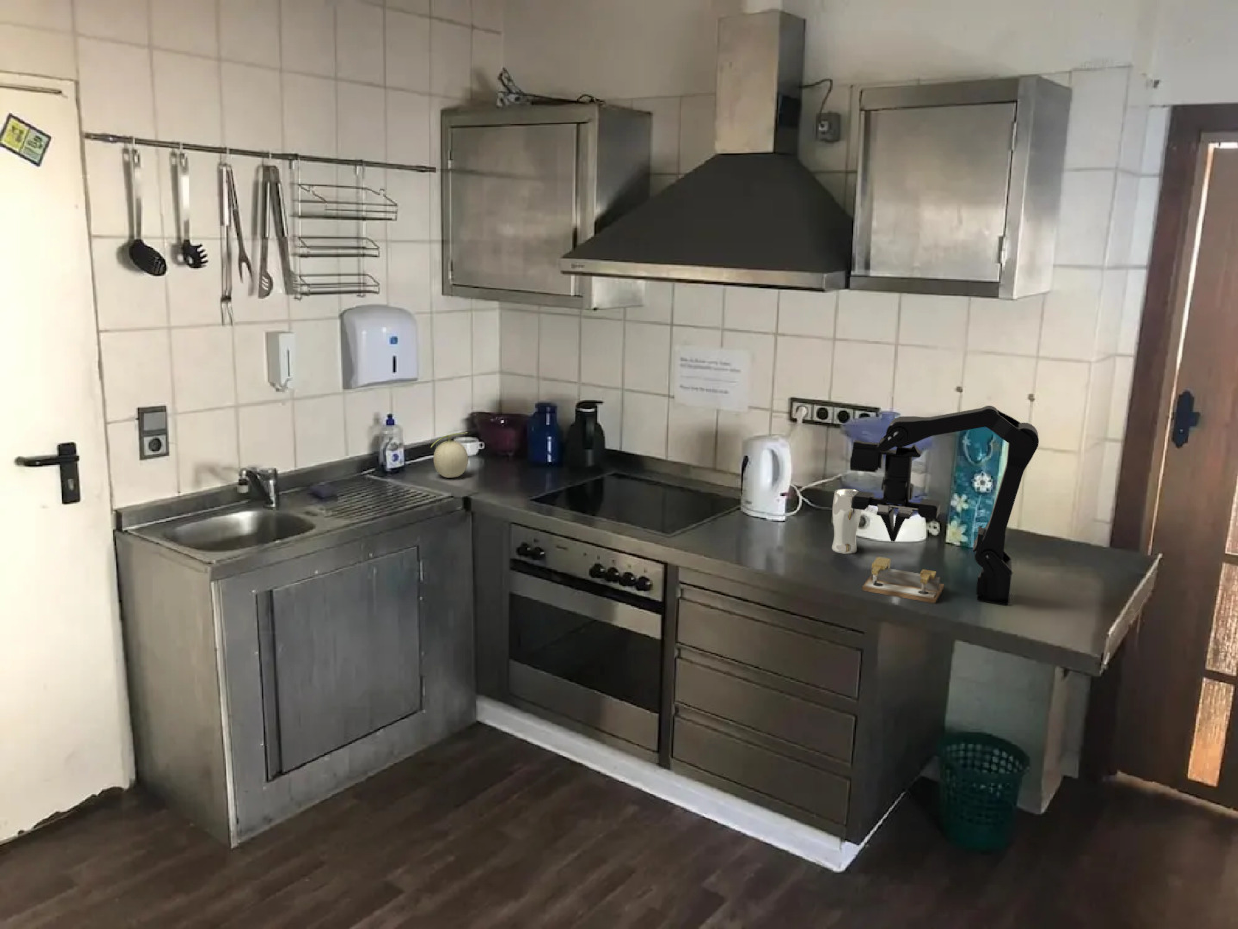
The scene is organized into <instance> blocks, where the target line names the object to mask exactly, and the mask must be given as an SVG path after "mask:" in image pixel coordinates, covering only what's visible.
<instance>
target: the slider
mask: <svg viewBox="0 0 1238 929" xmlns="http://www.w3.org/2000/svg"><path fill="white" fill-rule="evenodd" d="M891 560H892V559H891V558H888V557H887V558H886V557H881V556H877V557H876V558H875V560H874V561H873V562H872V563H871V568H873V569H872V574H873V583H874V584H876V583H877V575H878V574H879V573H880V572H881V569H883V570H885V569H886V568H889V569H891V562H892V561H891ZM871 568H870V569H871Z"/></svg>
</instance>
